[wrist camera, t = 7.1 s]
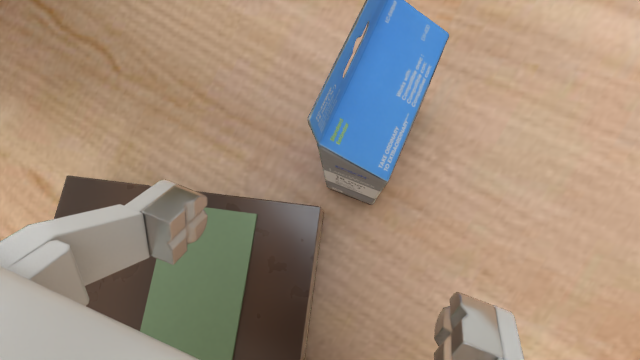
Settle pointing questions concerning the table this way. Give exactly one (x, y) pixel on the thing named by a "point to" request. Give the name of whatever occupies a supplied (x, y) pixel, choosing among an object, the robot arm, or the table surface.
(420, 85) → the blue cardboard box
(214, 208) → the desk shelf
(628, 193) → the table surface
